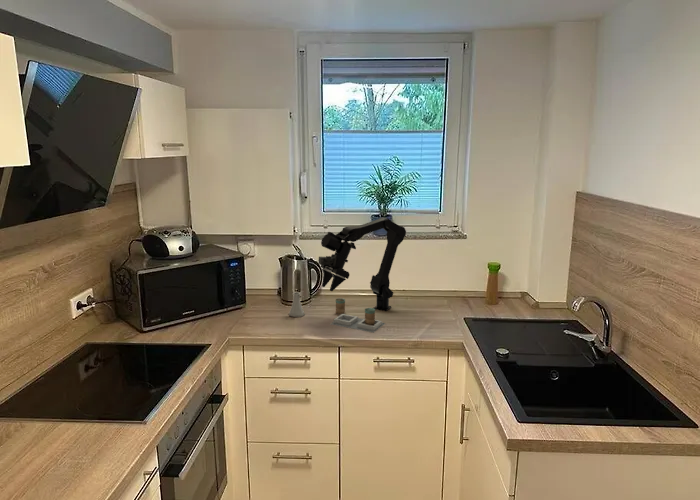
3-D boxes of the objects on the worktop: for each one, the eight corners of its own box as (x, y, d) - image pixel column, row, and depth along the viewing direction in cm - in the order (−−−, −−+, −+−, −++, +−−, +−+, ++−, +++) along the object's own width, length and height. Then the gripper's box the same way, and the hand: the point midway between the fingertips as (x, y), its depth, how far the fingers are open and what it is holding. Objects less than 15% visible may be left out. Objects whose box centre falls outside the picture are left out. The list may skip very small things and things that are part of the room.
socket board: (343, 317, 221) (343, 312, 220) (385, 325, 212) (385, 319, 212) (329, 326, 210) (329, 320, 210) (373, 335, 202) (373, 329, 201)
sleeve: (338, 312, 228) (338, 297, 226) (346, 314, 226) (346, 299, 224) (333, 315, 224) (333, 300, 222) (342, 317, 222) (342, 301, 221)
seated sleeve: (367, 323, 211) (367, 307, 210) (376, 325, 210) (376, 308, 208) (362, 326, 208) (363, 310, 206) (372, 328, 206) (372, 311, 204)
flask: (306, 312, 228) (306, 291, 226) (303, 317, 221) (303, 295, 219) (290, 311, 228) (290, 290, 226) (287, 317, 221) (286, 295, 219)
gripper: (317, 245, 221) (303, 278, 220) (333, 250, 204) (318, 286, 203) (338, 254, 226) (325, 287, 225) (356, 260, 209) (341, 295, 208)
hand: (326, 288), depth 215 cm, fingers open, 9 cm apart
